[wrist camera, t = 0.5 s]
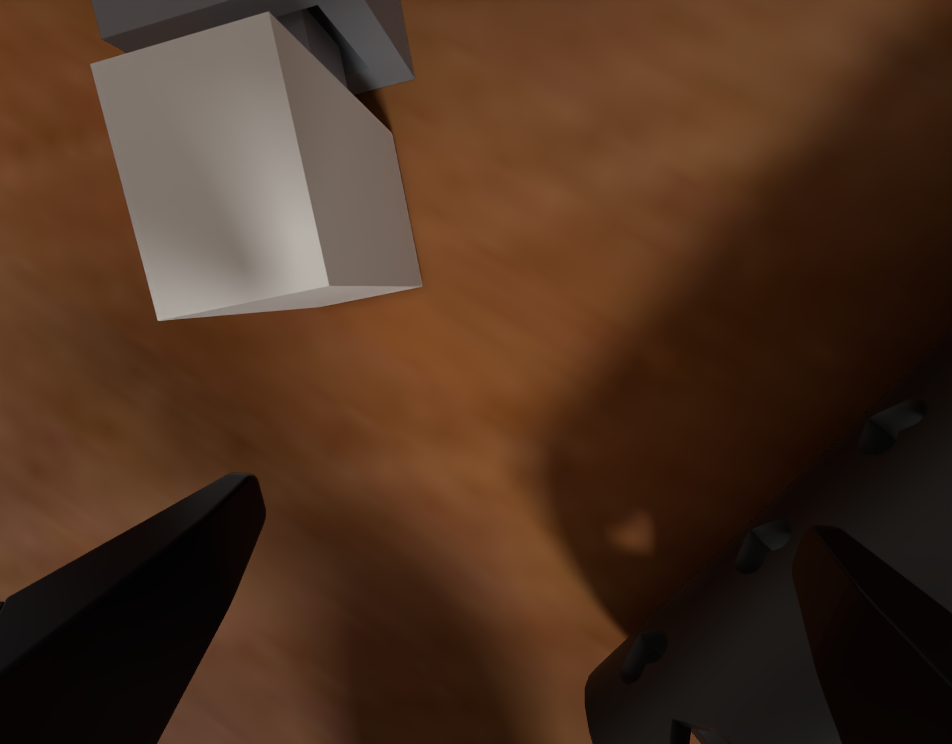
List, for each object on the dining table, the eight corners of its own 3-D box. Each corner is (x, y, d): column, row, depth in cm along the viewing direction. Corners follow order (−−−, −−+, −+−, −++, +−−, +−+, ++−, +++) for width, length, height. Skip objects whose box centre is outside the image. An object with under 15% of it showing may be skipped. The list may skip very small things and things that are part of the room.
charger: (422, 286, 22) (329, 286, 13) (319, 307, 23) (158, 320, 13) (367, 10, 21) (217, -220, 11) (259, 41, 21) (33, -151, 12)
